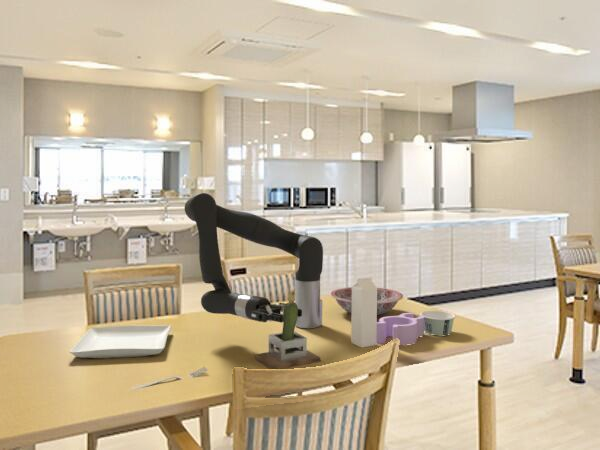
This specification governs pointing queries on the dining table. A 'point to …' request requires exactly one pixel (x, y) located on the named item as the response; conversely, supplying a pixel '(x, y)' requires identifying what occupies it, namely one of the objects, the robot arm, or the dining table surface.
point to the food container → (438, 322)
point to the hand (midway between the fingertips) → (292, 315)
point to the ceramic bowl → (384, 299)
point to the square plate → (122, 341)
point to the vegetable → (289, 319)
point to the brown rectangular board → (276, 364)
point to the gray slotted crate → (281, 345)
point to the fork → (170, 378)
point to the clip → (400, 328)
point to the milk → (364, 313)
